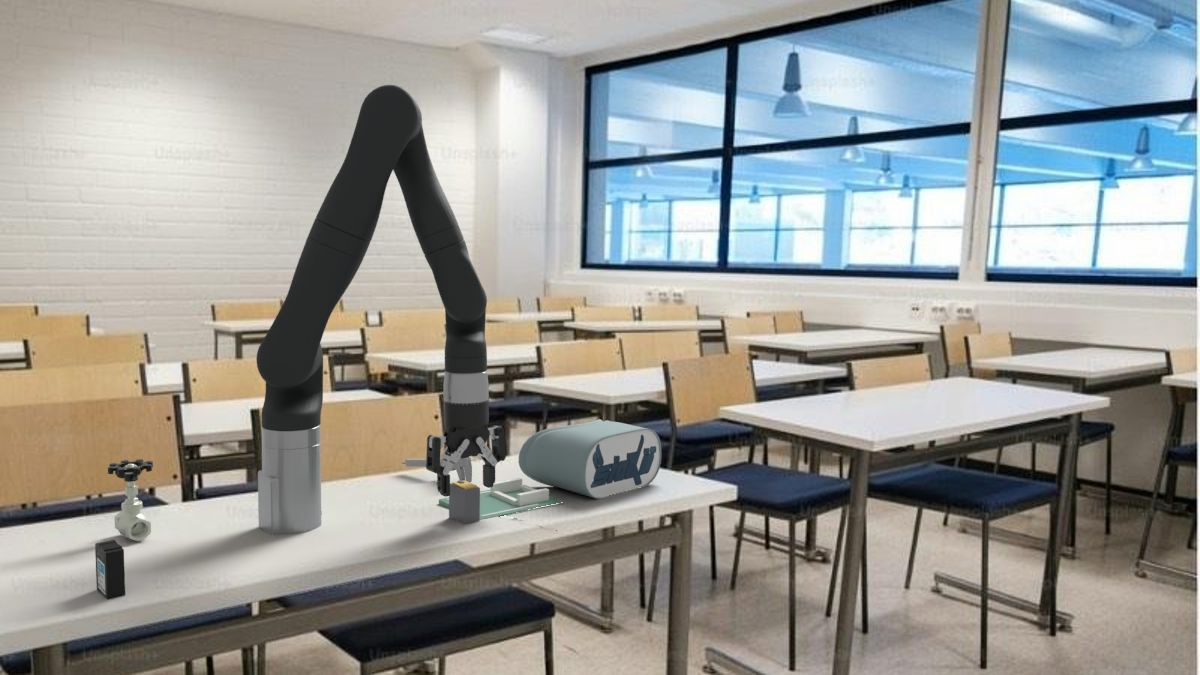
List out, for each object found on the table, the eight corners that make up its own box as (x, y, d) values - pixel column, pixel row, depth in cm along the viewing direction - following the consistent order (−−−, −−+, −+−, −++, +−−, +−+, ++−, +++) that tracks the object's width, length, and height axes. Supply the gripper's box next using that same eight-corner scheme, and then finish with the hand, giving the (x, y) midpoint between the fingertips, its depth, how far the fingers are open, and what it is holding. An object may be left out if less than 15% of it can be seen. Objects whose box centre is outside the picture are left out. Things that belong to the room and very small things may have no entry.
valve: (117, 547, 141) (114, 472, 139) (103, 536, 145) (101, 463, 144) (162, 538, 145) (160, 465, 144) (147, 528, 150) (145, 456, 149)
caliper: (471, 484, 179) (473, 453, 179) (467, 485, 178) (468, 454, 178) (405, 464, 192) (406, 434, 191) (401, 465, 191) (402, 435, 190)
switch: (464, 531, 153) (464, 487, 152) (448, 523, 157) (449, 480, 156) (479, 527, 155) (480, 484, 154) (463, 520, 159) (464, 478, 158)
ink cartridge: (96, 599, 122) (94, 541, 121) (114, 595, 123) (112, 537, 122) (106, 611, 118) (104, 551, 117) (125, 606, 120) (123, 547, 119)
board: (480, 526, 156) (480, 507, 155) (438, 505, 166) (438, 488, 166) (563, 507, 167) (564, 490, 167) (519, 489, 178) (520, 473, 177)
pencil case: (583, 508, 167) (585, 440, 166) (515, 486, 180) (516, 423, 179) (660, 486, 183) (662, 424, 182) (592, 468, 196) (594, 409, 195)
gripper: (440, 405, 146) (441, 504, 148) (513, 395, 155) (514, 488, 157) (417, 398, 152) (418, 493, 154) (489, 389, 161) (490, 479, 163)
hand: (467, 490), depth 155 cm, fingers open, 8 cm apart
